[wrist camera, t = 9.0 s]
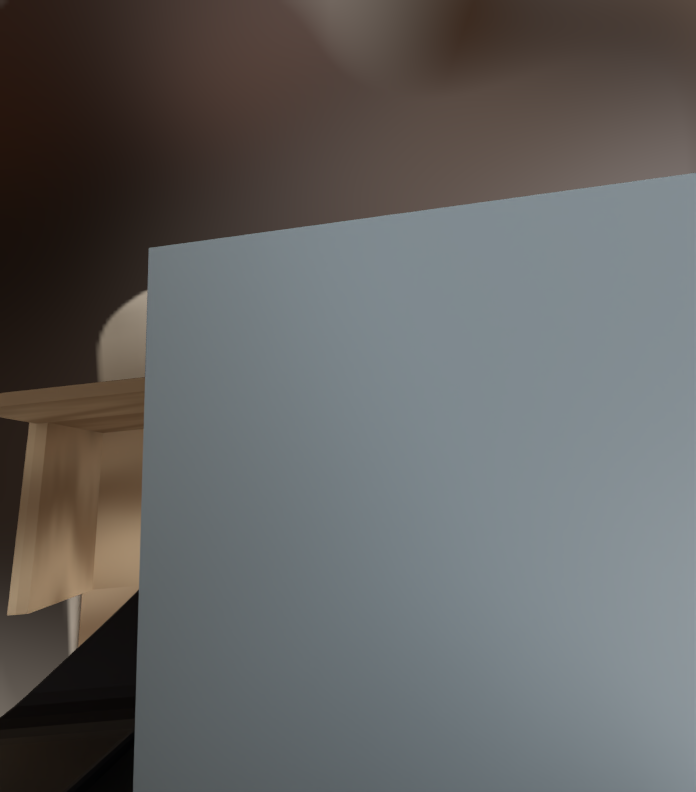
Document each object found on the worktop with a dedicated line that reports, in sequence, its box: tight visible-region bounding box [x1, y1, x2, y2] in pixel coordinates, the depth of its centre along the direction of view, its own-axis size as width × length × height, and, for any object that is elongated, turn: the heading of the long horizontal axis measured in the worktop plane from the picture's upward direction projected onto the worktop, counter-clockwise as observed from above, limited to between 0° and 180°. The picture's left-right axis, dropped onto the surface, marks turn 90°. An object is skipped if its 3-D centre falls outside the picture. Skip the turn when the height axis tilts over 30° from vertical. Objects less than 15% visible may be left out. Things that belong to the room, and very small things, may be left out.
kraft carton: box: [0, 377, 145, 647], centre depth 18 cm, size 16×15×8 cm
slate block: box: [133, 173, 696, 792], centre depth 8 cm, size 6×6×12 cm
